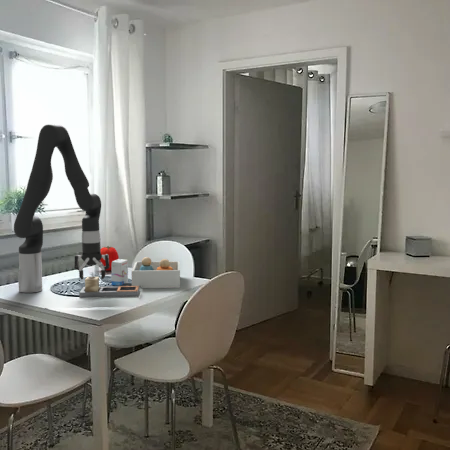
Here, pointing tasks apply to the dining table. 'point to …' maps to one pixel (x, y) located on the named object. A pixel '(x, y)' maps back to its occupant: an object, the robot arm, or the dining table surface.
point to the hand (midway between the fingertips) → (92, 278)
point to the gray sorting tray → (111, 292)
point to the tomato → (112, 255)
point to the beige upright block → (92, 284)
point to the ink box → (119, 272)
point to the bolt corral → (156, 276)
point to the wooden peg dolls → (147, 266)
